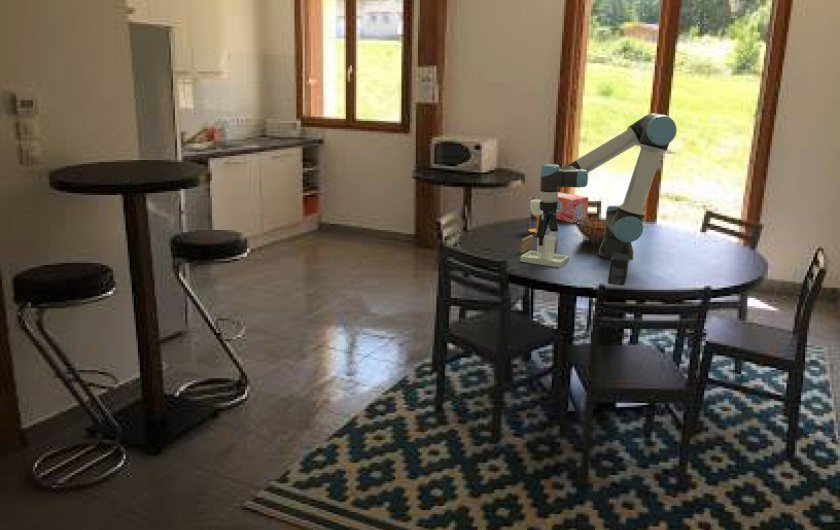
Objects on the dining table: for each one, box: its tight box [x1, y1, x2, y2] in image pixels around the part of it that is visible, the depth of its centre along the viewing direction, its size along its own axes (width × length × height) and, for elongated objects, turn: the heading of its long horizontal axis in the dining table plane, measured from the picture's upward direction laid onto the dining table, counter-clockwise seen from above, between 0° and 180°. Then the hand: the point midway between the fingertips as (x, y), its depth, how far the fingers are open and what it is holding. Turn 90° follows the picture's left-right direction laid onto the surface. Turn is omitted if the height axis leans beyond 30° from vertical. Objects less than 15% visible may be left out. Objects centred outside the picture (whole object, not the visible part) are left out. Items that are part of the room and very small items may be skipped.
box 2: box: [607, 252, 630, 286], centre depth 270 cm, size 11×7×10 cm, turn 158°
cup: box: [528, 198, 543, 234], centre depth 353 cm, size 9×9×16 cm
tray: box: [519, 249, 570, 268], centre depth 298 cm, size 18×12×2 cm, turn 60°
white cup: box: [536, 234, 557, 261], centre depth 297 cm, size 8×8×10 cm
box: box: [538, 191, 589, 224], centre depth 386 cm, size 27×13×14 cm, turn 36°
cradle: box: [520, 234, 559, 254], centre depth 313 cm, size 13×12×6 cm
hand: (546, 249), depth 297 cm, fingers open, 13 cm apart
